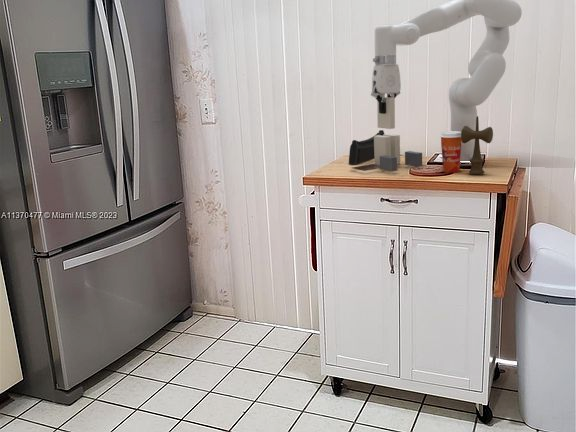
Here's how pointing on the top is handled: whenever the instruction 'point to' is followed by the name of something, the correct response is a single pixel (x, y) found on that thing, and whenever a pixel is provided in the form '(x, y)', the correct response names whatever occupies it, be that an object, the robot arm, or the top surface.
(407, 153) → the grey book
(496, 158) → the top surface
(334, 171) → the top surface
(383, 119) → the white book
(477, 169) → the kendama
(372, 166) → the shelf board
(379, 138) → the white book
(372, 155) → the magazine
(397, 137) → the white book
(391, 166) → the grey book
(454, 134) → the paper cup
